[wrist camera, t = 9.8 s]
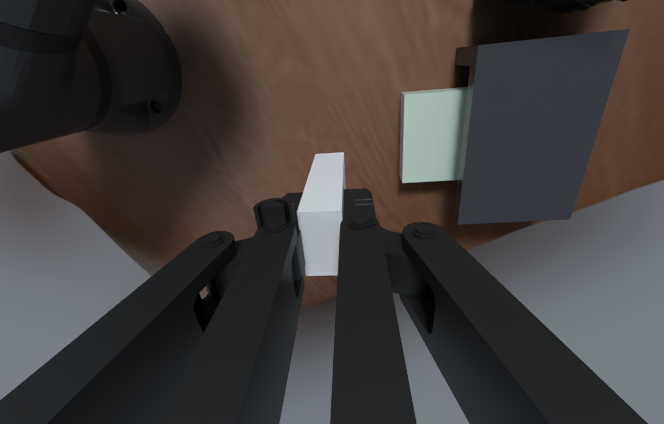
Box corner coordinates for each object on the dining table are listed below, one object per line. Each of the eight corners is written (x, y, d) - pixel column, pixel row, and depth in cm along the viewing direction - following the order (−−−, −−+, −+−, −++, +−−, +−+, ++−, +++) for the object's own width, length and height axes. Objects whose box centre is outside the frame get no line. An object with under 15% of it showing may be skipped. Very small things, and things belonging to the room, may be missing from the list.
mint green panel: (398, 174, 38) (402, 183, 35) (400, 92, 33) (404, 94, 31) (511, 167, 37) (524, 176, 34) (529, 81, 32) (545, 82, 29)
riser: (443, 202, 39) (457, 224, 33) (456, 48, 31) (478, 45, 25) (539, 196, 38) (569, 219, 32) (579, 34, 29) (629, 29, 24)
